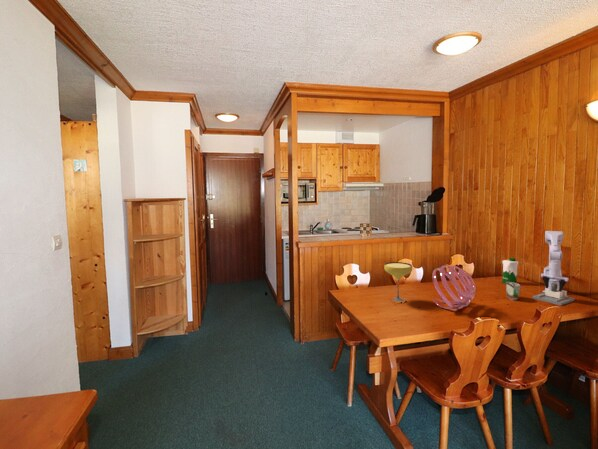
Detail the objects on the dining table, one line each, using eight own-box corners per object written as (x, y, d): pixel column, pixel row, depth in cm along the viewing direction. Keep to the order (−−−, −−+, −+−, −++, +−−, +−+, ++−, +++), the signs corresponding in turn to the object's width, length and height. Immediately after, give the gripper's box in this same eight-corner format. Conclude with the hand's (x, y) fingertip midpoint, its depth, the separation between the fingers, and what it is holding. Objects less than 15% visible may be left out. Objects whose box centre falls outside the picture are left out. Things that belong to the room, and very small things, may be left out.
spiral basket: (411, 274, 205) (448, 255, 188) (433, 277, 222) (468, 260, 205) (429, 316, 191) (471, 300, 174) (451, 315, 208) (491, 300, 191)
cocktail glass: (417, 301, 209) (418, 265, 207) (399, 307, 200) (399, 269, 198) (396, 294, 225) (396, 260, 222) (378, 299, 215) (378, 264, 213)
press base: (546, 294, 218) (546, 286, 218) (574, 300, 204) (575, 292, 204) (532, 298, 210) (532, 290, 210) (560, 305, 196) (561, 297, 196)
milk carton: (518, 284, 243) (520, 259, 241) (509, 285, 241) (510, 259, 239) (508, 281, 251) (509, 257, 249) (499, 282, 249) (500, 257, 247)
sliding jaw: (548, 294, 212) (548, 282, 211) (562, 297, 205) (563, 284, 204) (545, 295, 210) (545, 282, 209) (559, 298, 203) (560, 285, 202)
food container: (524, 301, 204) (524, 286, 204) (513, 301, 206) (514, 286, 205) (515, 295, 217) (515, 281, 216) (505, 295, 218) (505, 281, 217)
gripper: (539, 268, 210) (538, 287, 211) (565, 272, 197) (563, 293, 198) (544, 266, 213) (543, 285, 214) (570, 271, 200) (569, 291, 202)
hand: (553, 289), depth 207 cm, fingers open, 7 cm apart
